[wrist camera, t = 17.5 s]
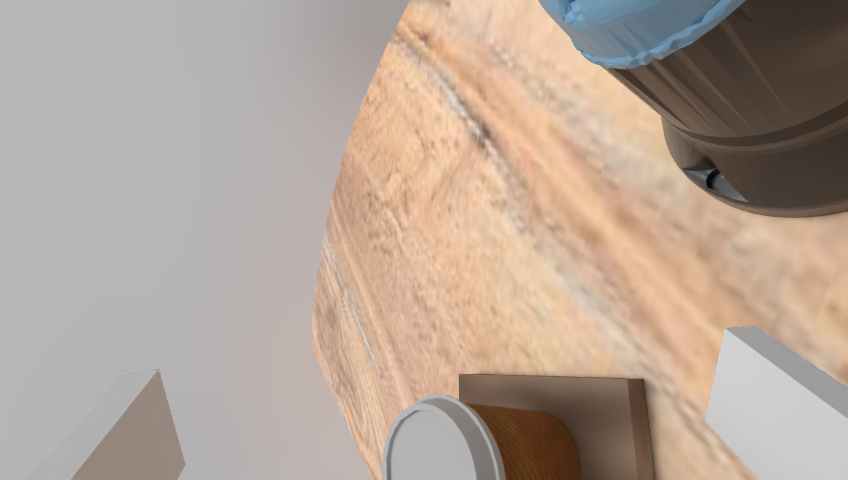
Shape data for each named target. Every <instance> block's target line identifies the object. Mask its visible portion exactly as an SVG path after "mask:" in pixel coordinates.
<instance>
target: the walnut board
mask: <svg viewBox="0 0 848 480" xmlns="http://www.w3.org/2000/svg"><path fill="white" fill-rule="evenodd" d="M459 401H461V402H463V403H471V404H480V405H489V406H498V407H507V408H515V409H524V410H533V411H543V412H547V413H549V414H551V415H553V416H555V417H556V418H558V419H559V420H560V421H561V422H562V423H563V424H564V425H565V426H566V428H567V429H568V430H569V431H570V433H571V435H572V437H573V439H574V441H575V443H576V446H577V449H578V453H579V458H580V474H579V479H578V480H655V475H654V466H653V458H652V449H651V441H650V432H649V424H648V415H647V407H646V398H645V389H644V381H643V379H629V378H596V377H562V376H528V375H494V374H459Z"/></svg>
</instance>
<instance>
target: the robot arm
mask: <svg viewBox="0 0 848 480" xmlns="http://www.w3.org/2000/svg"><path fill="white" fill-rule="evenodd" d="M538 1H539V2H540V4H541V5H542V7H543V8H544V9H545V11H546V12H547V13H548V14H549V15H550V16H551V17H552V18H553V20H554V21H555V22H556V23H557V24H558V25H559V26H560V27H561V28H562V29H563V30H564V31H565V32H566V33H567V34H568V36H569V37H570V38H571V40H572V42H573V44H574V46H575V47H576V49H577V50H579V51H581V54H582V55H583V56H584V57H585V58H586V59H587V60H589V61H591V62H592V63H595V64H597V65H600V66H602V67H603V68H604V69H605V70H607V71H608V72H609V73H610V74H611V75H613V76H614V77H615V78H616V79H617V80H619V81H620V82H621V83H622V84H623V85H625V86H626V87H627V88H628V89H629V90H631V91H632V92H633V93H634V94H635V95H637V96H638V97H639V98H640V99H641V100H643V101H644V102H645V103H646V104H647V105H649V106H650V107H651V108H652V109H653V110H655V111H656V112H657V113H658V114H659V115H661V119H662V125H663V131H664V136H665V140H666V143H667V146H668V149H669V151H670V153H671V155H672V157H673V159H674V160H675V162H676V164H677V165H678V167H679V168H680V169H681V171H682V172H683V173H684V174H685V175H686V176H687V177H688V178H689V179H690V180H691V181H692V182H693V183H694V184H696V185H697V186H698V187H700V188H701V189H703V190H704V191H705V192H707V193H708V194H710V195H711V196H713V197H714V198H716V199H717V200H719V201H721V202H723V203H725V204H728V205H730V206H732V207H735V208H738V209H741V210H744V211H748V212H751V213H756V214H761V215H768V216H777V217H811V216H821V215H827V214H834V213H839V212H843V211H848V0H538ZM705 422H706V423H707V424H708V425H709V426H710V428H711V429H712V430H713V431H714V432H715V433H716V434H717V435H718V436H719V437H720V438H721V439H722V440H723V442H724V443H725V444H726V445H727V446H728V447H729V448H730V449H731V450H732V451H733V452H734V453H735V454H736V456H737V457H738V458H739V459H740V460H741V461H742V462H743V463H744V464H745V465H746V466H747V467H748V469H749V470H750V471H751V472H752V473H753V474H754V475H755V476H756V477H757V478H758V479H759V480H848V388H847V387H846V386H844V385H843V384H841V383H840V382H838V381H837V380H835V379H834V378H832V377H831V376H829V375H828V374H826V373H825V372H823V371H822V370H820V369H819V368H817V367H816V366H814V365H813V364H811V363H810V362H808V361H807V360H805V359H804V358H802V357H801V356H799V355H798V354H796V353H795V352H793V351H792V350H790V349H789V348H787V347H786V346H784V345H783V344H781V343H780V342H779V341H777V340H776V339H774V338H773V337H771V336H770V335H768V334H767V333H765V332H764V331H762V330H761V329H759V328H758V327H756V326H748V327H735V328H725V330H724V334H723V339H722V343H721V348H720V352H719V357H718V362H717V366H716V371H715V375H714V380H713V384H712V389H711V393H710V398H709V403H708V407H707V412H706V416H705ZM184 466H185V461H184V458H183V455H182V451H181V447H180V443H179V440H178V436H177V433H176V429H175V425H174V422H173V418H172V415H171V411H170V408H169V404H168V401H167V397H166V393H165V390H164V386H163V383H162V379H161V375H160V372H159V369H152V370H139V371H124V372H123V373H121V374H120V376H119V377H118V378H117V379H116V380H115V381H114V382H113V383H112V384H111V385H110V386H109V388H108V389H107V390H106V391H105V392H104V393H103V394H102V395H101V396H100V397H99V399H98V400H97V401H96V402H95V403H94V404H93V405H92V406H91V407H90V409H88V411H87V412H86V413H85V414H84V415H83V416H82V417H81V418H80V419H79V420H78V422H77V423H76V424H75V425H74V426H73V427H72V428H71V429H70V430H69V431H68V432H67V434H66V435H65V436H64V437H63V438H62V439H61V440H60V441H59V442H58V443H57V444H56V446H55V447H54V448H53V449H52V450H51V451H50V452H49V453H48V454H47V455H46V456H45V458H44V459H43V460H42V461H41V462H40V463H39V464H38V465H37V467H35V469H34V470H33V471H32V472H31V473H30V474H29V475H28V476H27V477H26V478H25V479H24V480H178V478H179V476H180V474H181V472H182V470H183V468H184Z"/></svg>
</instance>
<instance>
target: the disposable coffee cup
mask: <svg viewBox="0 0 848 480" xmlns="http://www.w3.org/2000/svg"><path fill="white" fill-rule="evenodd" d="M579 474H580V458H579V453H578V449H577V446H576V443H575V441H574V439H573V437H572V435H571V433H570V431H569V430H568V429H567V428H566V426H565V425H564V424H563V423H562V422H561V421H560V420H559V419H558V418H556V417H555V416H553V415H551V414H549V413H547V412H543V411H533V410H524V409H515V408H507V407H498V406H489V405H480V404H471V403H463V402H461V401H459V400H457V399H455V398H453V397H451V396H447V395H440V394H434V395H429V396H426V397H424V398H422V399H420V400H418V401H417V402H416V403H415V404H414V405H412V406H409V407H408V408H406V409H405V410H404V411H402V412H401V413H400V415H399V416H398V417H397V418H396V420H395V421H394V423H393V425H392V427H391V429H390V431H389V434H388V436H387V440H386V444H385V448H384V455H383V467H382V475H383V480H578V479H579Z"/></svg>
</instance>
